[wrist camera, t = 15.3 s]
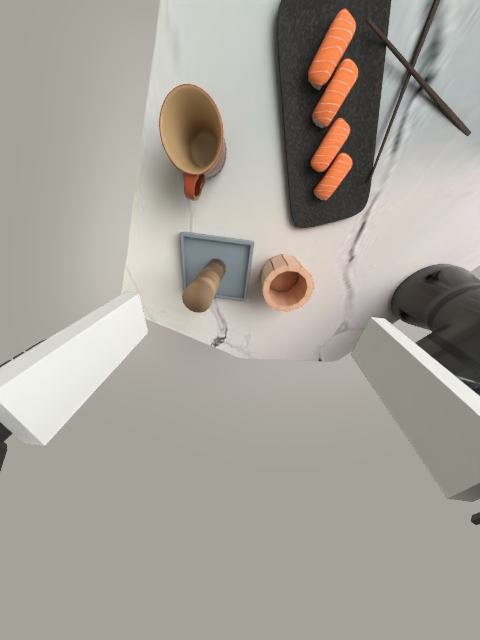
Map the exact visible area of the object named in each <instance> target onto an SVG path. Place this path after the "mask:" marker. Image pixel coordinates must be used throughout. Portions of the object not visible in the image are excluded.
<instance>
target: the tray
mask: <svg viewBox="0 0 480 640" xmlns="http://www.w3.org/2000/svg"><path fill="white" fill-rule="evenodd" d="M180 238H181V254H182V271H183V288H184V291H185V289H186V288H187V287H188V286H189V285H190V284H191V282H192V281H193V280H194V279H195V278H196V277H197V276H198V274H199V273H200V272H201V271H202V270H203V269H204V267H205V266H206V265H207V264H208V263H209V262H210V261H211V260H212V259H220V260H222V261H223V262H224V263H225V266H226V272H225V274H224V276H223V278H222V281H221V283H220V285H219V287H218V289H217V292H216V294H215V296H214V297H219V298H227V299H234V300H242V301H246V295H247V288H248V281H249V274H250V267H251V261H252V254H253V247H254V241H250V240H243V239H235V238H228V237H220V236H212V235H205V234H197V233H190V232H181V233H180Z"/></svg>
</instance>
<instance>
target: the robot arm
mask: <svg viewBox="0 0 480 640" xmlns="http://www.w3.org/2000/svg"><path fill="white" fill-rule="evenodd" d="M392 311H393V313H394V314H395V315H396V316H397V317H398V318H399V319H401V320H402V321H404V322H406V323H408V324H411V325H415V326H418V327H421V328H425V329H428V330H431V331H432V333H431V334H429V335H427V336H426V337H424V338H423V339H421V340H419V341H418V342H416V343H414V342H413V341H411V340H410V339H409V338H408V337H407V336H405V335H404V334H403V333H402V332H401V331H399V330H398V329H397V328H396V327H394V326H393V325H392V324H391V323H390V322H388V321H387V320H386V319H385V318H375V317H370V319H369V321H368V323H367V325H366V327H365V329H364V331H363V333H362V334H361V336H360V338H359V340H358V342H357V344H356V346H355V348H354V349H353V351H352V353H351V356H352V357H353V358H354V360H355V361H356V363H357V364H358V366H359V367H360V369H361V370H362V372H363V373H364V375H365V376H366V378H367V379H368V381H369V382H370V384H371V385H372V387H373V388H374V390H375V391H376V393H377V394H378V396H379V397H380V399H381V400H382V402H383V403H384V405H385V406H386V408H387V409H388V411H389V412H390V414H391V415H392V417H393V418H394V420H395V421H396V423H397V424H398V426H399V427H400V429H401V430H402V432H403V433H404V435H405V436H406V438H407V439H408V441H409V442H410V444H411V445H412V447H413V448H414V450H415V451H416V453H417V454H418V456H419V457H420V459H421V460H422V462H423V463H424V464H425V466H426V468H427V469H428V470H429V472H430V474H431V475H432V477H433V478H434V480H435V481H436V483H437V484H438V486H439V487H440V489H441V490H442V491H443V493H444V495H445V496H446V498H447V499H455V500H462V501H469V502H473V501H476V500H478V499H480V280H479V279H478V278H476V277H475V276H474V275H473V274H471V273H470V272H469V271H468V270H466V269H464V268H461V267H458V266H454V265H450V264H438V265H433V266H429V267H427V268H424V269H422V270H420V271H418V272H416V273H414V274H413V275H411V276H410V277H409V278H407V279H406V280H405V281H404V282H403V283H402V284H401V285H400V286H399V288H398V289H397V291H396V292H395V294H394V296H393V299H392ZM147 333H148V330H147V326H146V322H145V317H144V313H143V309H142V305H141V301H140V296H139V293H131V292H125V293H123V294H122V295H120V296H118V297H117V298H115V299H113V300H112V301H110V302H108V303H107V304H105V305H103V306H102V307H100V308H98V309H97V310H95V311H93V312H92V313H90V314H88V315H87V316H85V317H83V318H82V319H80V320H79V321H77V322H75V323H73V324H72V325H70V326H68V327H67V328H65V329H63V330H62V331H60V332H58V333H57V334H55V335H53V336H52V337H50V338H48V339H46V340H43V341H41V342H39V343H38V344H36V345H34V346H32V347H31V348H29V349H27V350H26V352H22V353H21V354H19V355H17V356H15V357H14V358H13V360H9V361H7V362H5V363H4V364H2V365H0V471H1V467H2V464H3V461H4V458H5V455H6V452H7V444H6V443H4V441H5V440H6V439H7V438H8V437H9V436H10V435H11V434H13V435H14V436H16V437H17V438H18V439H19V440H20V441H21V442H22V443H27V444H35V445H43V446H45V445H46V444H47V443H48V442H49V441H50V439H51V438H52V437H53V436H54V435H55V434H56V433H57V432H58V431H59V430H60V428H61V427H62V426H63V425H64V424H65V423H66V422H67V421H68V420H69V419H70V418H71V416H72V415H73V414H74V413H75V412H76V411H77V410H78V409H79V408H80V407H81V405H82V404H83V403H84V402H85V401H86V400H87V399H88V398H89V397H90V396H91V394H92V393H93V392H94V391H95V390H96V389H97V388H98V387H99V386H100V384H101V383H102V382H103V381H104V380H105V379H106V378H107V377H108V376H109V375H110V374H111V373H112V371H113V370H114V369H115V368H116V367H117V366H118V365H119V364H120V362H122V360H123V359H124V358H125V357H126V356H127V355H128V354H129V353H130V352H131V351H132V350H133V348H134V347H135V346H136V345H137V344H138V343H139V342H140V341H141V340H142V339H143V337H144V336H145V335H146V334H147ZM471 522H472V523H474V524H475V525H478V524H480V513H477V514H474V515H472V518H471Z"/></svg>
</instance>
